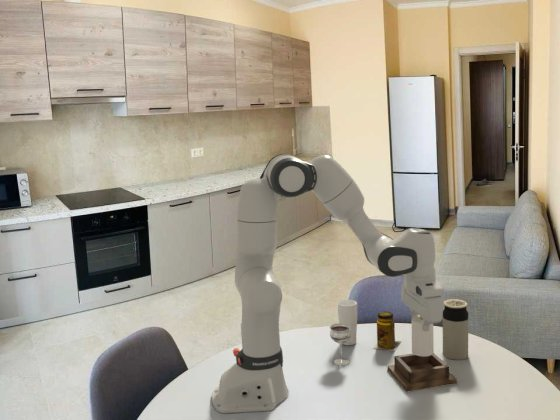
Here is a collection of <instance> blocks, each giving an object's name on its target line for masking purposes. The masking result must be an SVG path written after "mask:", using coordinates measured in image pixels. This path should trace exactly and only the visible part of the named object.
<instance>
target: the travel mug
mask: <svg viewBox="0 0 560 420" xmlns="http://www.w3.org/2000/svg"><path fill="white" fill-rule="evenodd" d="M467 307H468V303H467V302H466V300H463V299H455V298H452V299H446V300H444V301H443V317H442V355H443V356H444V357H446V358H447V359H450V360H456V361H457V360H458V361H459V360H460V361H461V360H463V359H464V360H465V359H466V358H467V357H469V312H468V310H467Z"/></svg>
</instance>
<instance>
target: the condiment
mask: <svg viewBox="0 0 560 420" xmlns="http://www.w3.org/2000/svg"><path fill="white" fill-rule="evenodd" d="M395 325H396V324H395V321H394V314H393V313H392V312H391V311H384V310H383V311H380V312H378V313H377V320H376V339H377V343H376V344H375V346H374V347H373V349H375V350H381V351H388V352H389V351H391V352H395V351H396V350H397V348H398V346H399V345H400V343H401V341H400V340H396V337H395V336H396V334H395V332H396V329H395Z"/></svg>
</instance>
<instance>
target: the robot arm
mask: <svg viewBox="0 0 560 420" xmlns="http://www.w3.org/2000/svg"><path fill="white" fill-rule="evenodd" d="M308 192H312V193H313V194H314V195H315V197H316V198H317V199H318V200H319V202H320V203H321V205H323V206H324V208H325V209H326V210H327V211H328V212H329V213H330V214H332V216H334V218H336V219H337V220H339V221H342V222H344V223H345V224H346V225H347V226H348V227H349V228H350V230H351V231H352V233H354V235H355V236H356V237H357V238H358V241H360V243H361V245H362V249H363V252H364V257H365V258H366V259H367V261H368V262H369V263H370V264H371V265H373V266H374V267H375V268H376V269H377V270H378V271H379V272H380V273H382V274H383V275H384V276H387V277H392V278H393V277H398V276H404V280H403V281H402V282H401V293H400V294H401V302H402V303H403V304H404V305H405V306H407V307H408V308H409V312H410V315H411V318H412V317H413V316H417V315H420V316H421V317H422V318H423V321H424V322H423V331H429V325H430V324H433V325H434V324H438V323H441V321H443V310H444V304H443V302H444V301H443V295H444V292H445V291H444V288H443V287H442V284H440V282H439V280H438V278H437V277H436V276H437V275H436V268H435V262H436V245H435V239H434V235H433V233H431V232H430V231H428V230H426V229H422V228H416V227H414V228H413V227H411V228H407V229H406V230H405V232H403V233H402V234H401V235H399V236H397V237H395V238H394V239H393V238H392V237H390V236H389V235H387V234H386V233H383V232H381V231H380V230H379V229H378V228H377V227H376V225H375V224H374V223H373V222H372V220H371V218H369V216H368V215H367V214H366V212H365V210H364V209H365V208H364V206H365V196H364V195H363V193H362V191H361V189H360V187H359V186H358V184H357V183H356V181H355V180H354V178H352V176H351V175H350V173H348V171H347V170H346V169H345V168H344V167H343V166H342V165H341V164H340V163H338V161H337V160H335V159H334V158H333V157H332V156H330V155H328V154H322V155H318V156H316V157H314V158H312V159H311V160H310V161H309V162H307V161H304V160H301V159H300V158H299V157H297V156H295V155H292V154H287V153H280V154H277V155H274V156H273V157H272V158H270V159H269V161H268V162H267V164H266V166H265V167H264V169H263V171H262V173H261V174H260V176H259V178H255V179H251V180H248V181H246V182H244V183H243V184H242V185H241V187H240V191H239V195H238V201H237V203H238V204H237V216H236V217H237V222H236V223H237V225H236V226H237V227H236V228H237V248H236V256H235V257H236V258H235V267H234V268H235V270H234V286H235V288H236V290H237V292H238V293H239V296H240V299H241V322H240V334H241V336H240V337H241V345H242V346H241V348H242V349H241V350H240V349H239V348H238V347H236V348H235V347H234V349H233V350H232V353H233V356H234V357H235V361H236V362H235V363H234V364H233V365H232V366H231V367H230V368H228V369H227V370H226V371H224V372H223V373H222V374H221V377H220V380H219V384H218V386H217V387H215V388H214V389H213V392H212V395H211V402H212V405H213V408H214V410H215V411H217V412H218V413H220V414H231V413H249V412H251V413H252V412H267V411H270V412H271V411H273V410H274V409H275V408H276V407H277V405H279V404H280V403H282V402H283V401H284V400H286V399H287V397H288V396H289V388H288V386H287V383H286V380H285V375H284V370H283V365H284V355H283V349H282V347H281V336H280V335H281V334H280V316H281V315H280V314H281V307H282V305H281V304H282V300H283V292H282V287H281V283H280V281H279V280H278V279H277V277H275V275H274V271H273V263H274V256H275V251H276V250H277V245H278V244H277V243H278V239H277V238H278V232H277V231H278V224H277V223H278V216H277V215H278V213H277V209H278V203H279V201H280V199H281V198H282V197H284V198H296V197H299V196H301V195H303V194H305V193H308Z"/></svg>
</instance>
